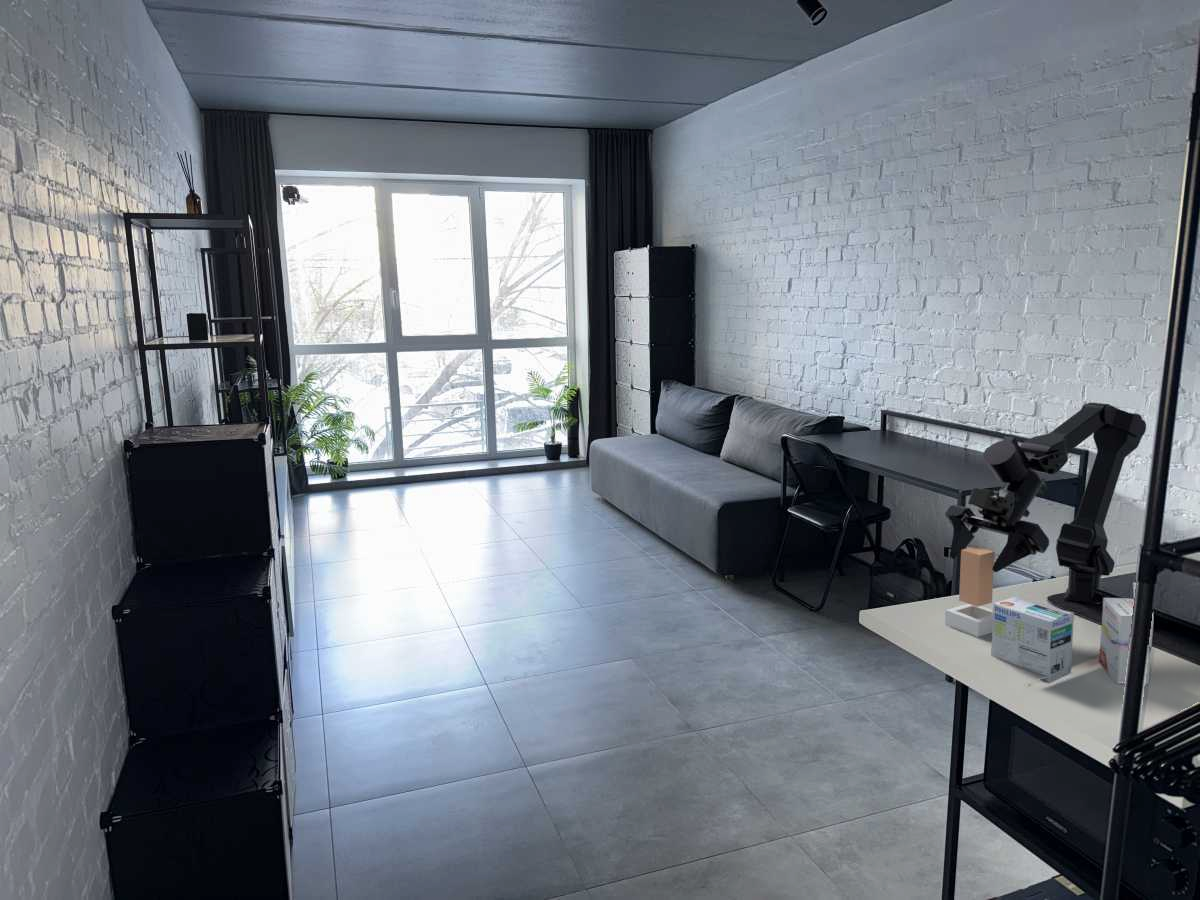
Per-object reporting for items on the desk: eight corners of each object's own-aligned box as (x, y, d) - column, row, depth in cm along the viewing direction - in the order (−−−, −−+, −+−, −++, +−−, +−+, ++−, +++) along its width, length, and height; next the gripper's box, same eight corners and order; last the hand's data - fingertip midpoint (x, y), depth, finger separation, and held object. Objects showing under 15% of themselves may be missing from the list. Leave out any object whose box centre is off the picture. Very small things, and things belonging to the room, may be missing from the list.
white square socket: (970, 617, 165) (971, 602, 164) (1004, 629, 159) (1004, 614, 158) (944, 625, 162) (945, 610, 161) (977, 637, 155) (978, 622, 155)
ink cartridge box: (1096, 661, 146) (1102, 579, 144) (1128, 663, 145) (1135, 580, 143) (1115, 684, 138) (1122, 597, 135) (1149, 686, 137) (1157, 598, 134)
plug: (973, 596, 162) (975, 546, 160) (991, 602, 158) (994, 551, 157) (959, 600, 160) (961, 549, 158) (977, 606, 157) (979, 555, 155)
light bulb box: (1072, 673, 142) (1076, 612, 140) (1048, 684, 139) (1052, 621, 137) (1012, 652, 151) (1015, 594, 149) (988, 662, 148) (991, 602, 146)
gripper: (953, 463, 165) (910, 527, 162) (1042, 480, 149) (997, 552, 145) (979, 497, 170) (938, 560, 167) (1068, 517, 154) (1025, 587, 151)
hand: (972, 564), depth 157 cm, fingers open, 9 cm apart
